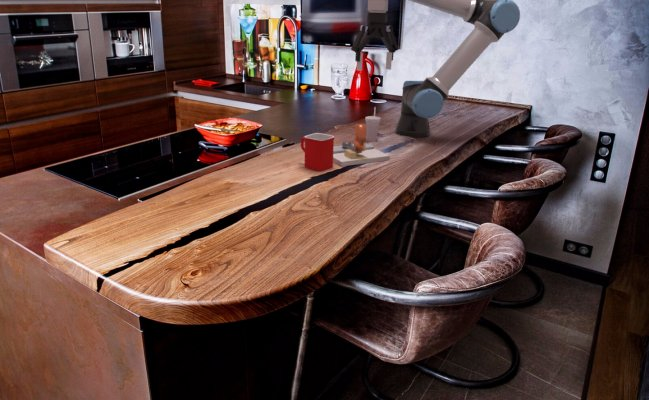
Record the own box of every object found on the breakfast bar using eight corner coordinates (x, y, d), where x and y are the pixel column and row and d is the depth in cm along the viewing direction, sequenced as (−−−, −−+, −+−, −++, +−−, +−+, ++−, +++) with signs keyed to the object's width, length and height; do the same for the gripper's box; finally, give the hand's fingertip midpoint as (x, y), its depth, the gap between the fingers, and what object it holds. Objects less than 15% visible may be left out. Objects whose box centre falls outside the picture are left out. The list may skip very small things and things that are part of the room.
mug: (335, 166, 170) (336, 136, 166) (320, 172, 164) (321, 141, 160) (308, 159, 177) (309, 130, 173) (293, 164, 170) (293, 134, 167)
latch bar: (339, 146, 184) (340, 119, 180) (348, 145, 186) (349, 118, 182) (357, 155, 173) (359, 126, 170) (367, 154, 175) (368, 125, 172)
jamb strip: (365, 148, 192) (365, 142, 192) (373, 152, 187) (374, 146, 187) (319, 154, 184) (320, 147, 183) (327, 158, 179) (327, 151, 178)
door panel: (374, 152, 187) (375, 143, 186) (389, 159, 179) (390, 149, 177) (328, 158, 178) (328, 148, 177) (341, 166, 170) (342, 155, 169)
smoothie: (378, 143, 201) (380, 109, 196) (363, 142, 202) (364, 108, 197) (380, 139, 207) (382, 106, 201) (364, 138, 208) (366, 105, 203)
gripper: (398, 12, 194) (394, 67, 202) (343, 11, 183) (341, 69, 191) (410, 12, 188) (405, 69, 196) (354, 11, 177) (351, 72, 185)
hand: (373, 69), depth 193 cm, fingers open, 13 cm apart
